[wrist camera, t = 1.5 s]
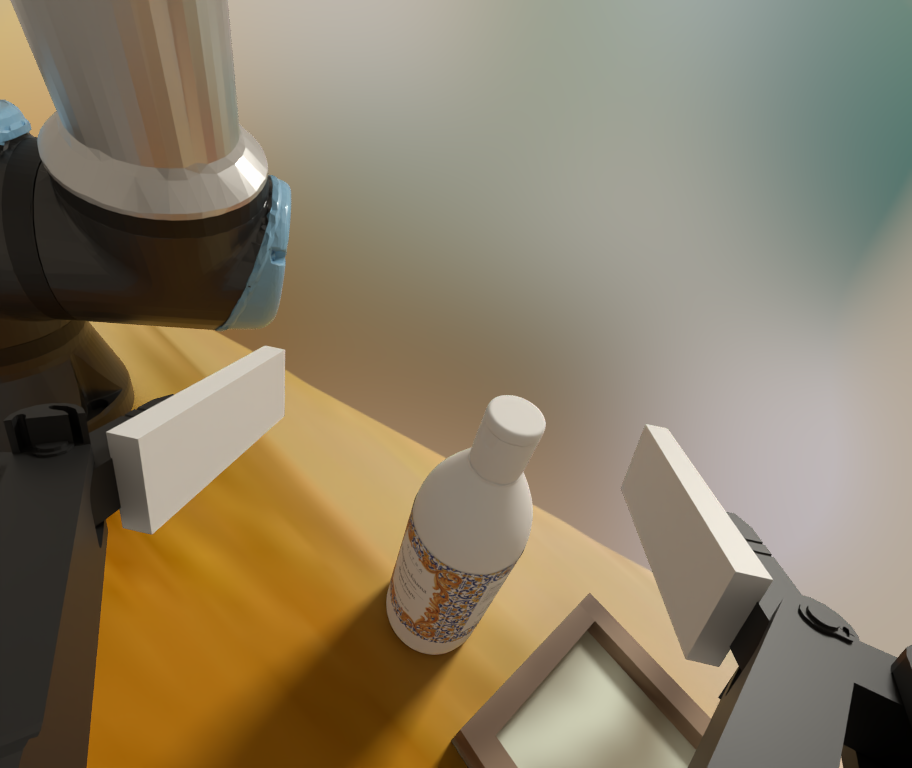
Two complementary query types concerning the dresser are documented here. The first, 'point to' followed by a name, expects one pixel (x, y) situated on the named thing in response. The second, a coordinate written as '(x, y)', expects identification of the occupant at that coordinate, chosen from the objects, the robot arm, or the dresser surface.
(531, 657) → the tray
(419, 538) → the bath foam
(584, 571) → the dresser surface
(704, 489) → the robot arm
